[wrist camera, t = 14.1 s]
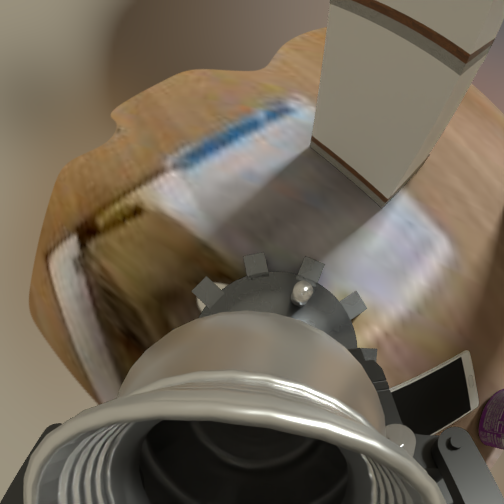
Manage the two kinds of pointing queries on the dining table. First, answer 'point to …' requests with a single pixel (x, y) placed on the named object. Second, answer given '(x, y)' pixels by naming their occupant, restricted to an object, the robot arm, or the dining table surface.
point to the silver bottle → (233, 426)
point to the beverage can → (493, 421)
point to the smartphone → (437, 396)
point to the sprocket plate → (287, 299)
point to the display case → (396, 83)
